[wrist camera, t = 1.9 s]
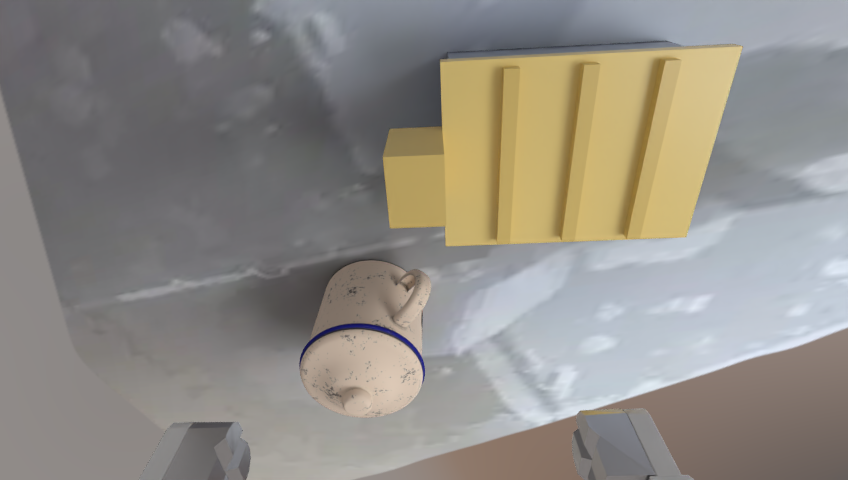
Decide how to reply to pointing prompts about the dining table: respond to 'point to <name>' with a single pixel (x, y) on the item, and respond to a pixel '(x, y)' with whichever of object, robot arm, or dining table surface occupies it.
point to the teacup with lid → (367, 340)
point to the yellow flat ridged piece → (563, 146)
